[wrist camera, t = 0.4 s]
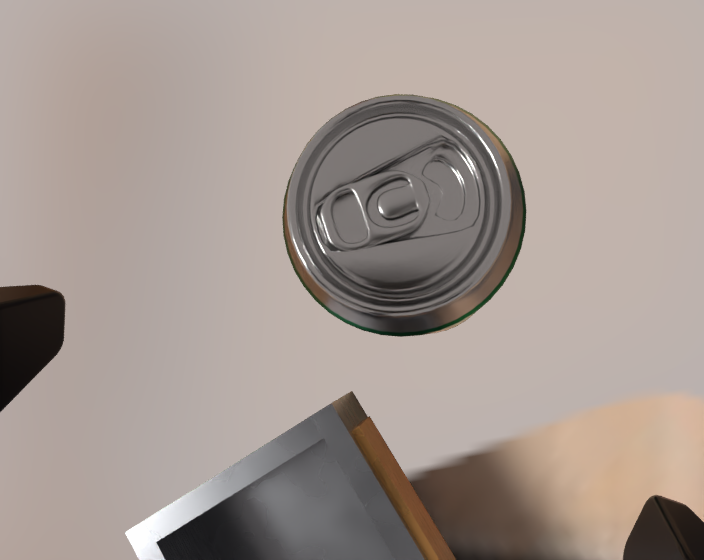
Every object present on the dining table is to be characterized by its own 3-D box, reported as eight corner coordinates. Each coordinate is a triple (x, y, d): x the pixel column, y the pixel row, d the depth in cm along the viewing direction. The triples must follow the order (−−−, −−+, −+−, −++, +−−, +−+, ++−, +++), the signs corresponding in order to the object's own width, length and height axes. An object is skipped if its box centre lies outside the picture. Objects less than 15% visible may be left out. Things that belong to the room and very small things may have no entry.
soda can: (512, 309, 23) (573, 287, 11) (382, 350, 24) (310, 371, 12) (467, 183, 24) (480, 34, 12) (343, 226, 24) (236, 127, 12)
